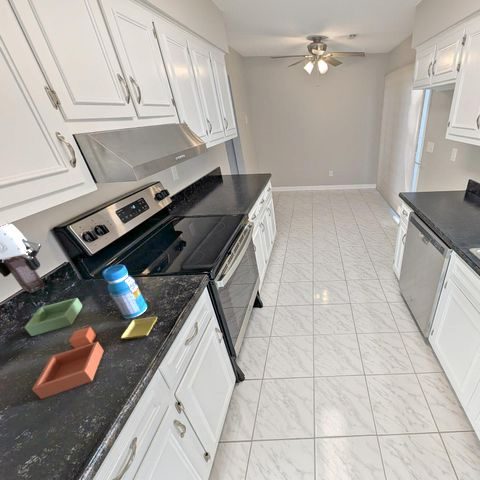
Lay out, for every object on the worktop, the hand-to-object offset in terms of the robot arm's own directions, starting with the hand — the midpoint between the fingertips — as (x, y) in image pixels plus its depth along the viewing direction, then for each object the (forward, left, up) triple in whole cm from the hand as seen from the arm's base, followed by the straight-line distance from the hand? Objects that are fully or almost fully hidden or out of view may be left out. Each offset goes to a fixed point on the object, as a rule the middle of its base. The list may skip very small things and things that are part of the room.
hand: (22, 271), depth 87 cm
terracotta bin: (+15, -32, -23) cm, 42 cm away
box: (0, 0, -7) cm, 7 cm away
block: (+14, -19, -23) cm, 33 cm away
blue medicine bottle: (+27, -9, -23) cm, 37 cm away
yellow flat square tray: (+31, -22, -23) cm, 44 cm away
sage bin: (0, 0, -23) cm, 23 cm away
